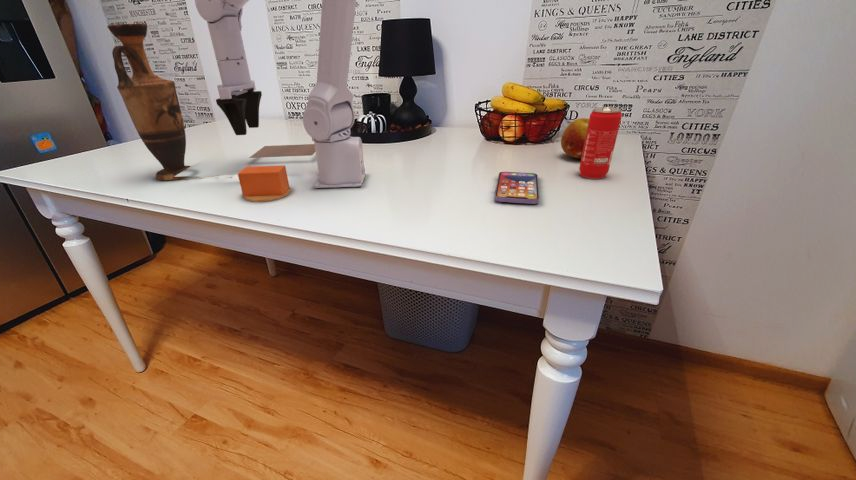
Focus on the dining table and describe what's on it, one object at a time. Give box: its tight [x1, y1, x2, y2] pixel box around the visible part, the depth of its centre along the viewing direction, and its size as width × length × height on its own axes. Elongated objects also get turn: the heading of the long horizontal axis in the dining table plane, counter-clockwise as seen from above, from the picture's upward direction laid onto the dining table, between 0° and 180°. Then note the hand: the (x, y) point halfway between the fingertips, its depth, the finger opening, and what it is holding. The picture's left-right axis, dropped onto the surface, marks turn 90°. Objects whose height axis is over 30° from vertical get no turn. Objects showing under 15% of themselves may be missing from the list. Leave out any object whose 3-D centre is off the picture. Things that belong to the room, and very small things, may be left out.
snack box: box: [237, 164, 290, 197], centre depth 78 cm, size 8×4×4 cm, turn 86°
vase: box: [106, 23, 192, 181], centre depth 86 cm, size 11×11×30 cm
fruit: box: [560, 117, 589, 159], centre depth 87 cm, size 10×9×8 cm
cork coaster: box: [243, 186, 292, 203], centre depth 79 cm, size 9×9×1 cm
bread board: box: [249, 143, 316, 159], centre depth 103 cm, size 16×12×2 cm
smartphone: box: [494, 171, 540, 205], centre depth 73 cm, size 1×7×15 cm
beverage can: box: [579, 107, 623, 180], centre depth 75 cm, size 5×5×12 cm
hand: (247, 131), depth 86 cm, fingers open, 7 cm apart
